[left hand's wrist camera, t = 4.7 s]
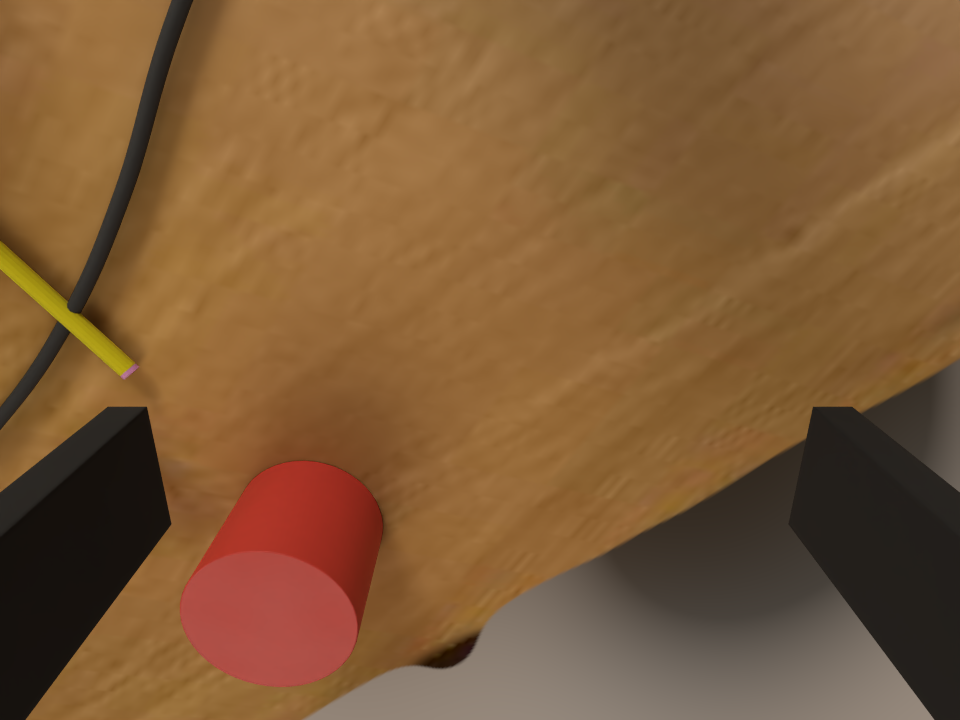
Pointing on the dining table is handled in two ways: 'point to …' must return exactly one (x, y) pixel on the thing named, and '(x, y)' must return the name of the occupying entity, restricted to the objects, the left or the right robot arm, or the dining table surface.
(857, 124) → the dining table surface
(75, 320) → the pencil
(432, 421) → the dining table surface
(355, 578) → the canister
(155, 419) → the dining table surface
